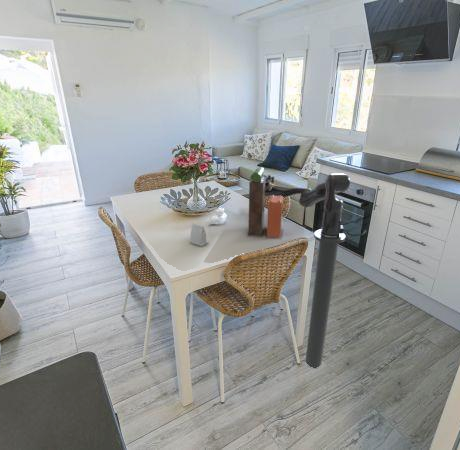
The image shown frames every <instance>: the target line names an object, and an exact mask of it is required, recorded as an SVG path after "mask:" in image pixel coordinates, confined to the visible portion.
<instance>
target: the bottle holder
mask: <svg viewBox="0 0 460 450" xmlns="http://www.w3.org/2000/svg"><path fill="white" fill-rule="evenodd" d="M267 202H268V203H267V221H266V223H267V224H266V237H267V238H276V239H277V238H278V239H280V238H281V231H282V218H283V204H284V197H283V196H281V195H280V196H274V195H272V196H269V199H268V201H267Z"/></svg>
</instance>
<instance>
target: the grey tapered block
mask: <svg viewBox="0 0 460 450" xmlns="http://www.w3.org/2000/svg"><path fill="white" fill-rule="evenodd" d="M190 241H191V244H193V245H196V246H199V247H203V246H205V245H206V244H207V232H206V229H205V227H204V226H202V225H200V224H199V225H198V224H196V223H192V226H191V230H190Z"/></svg>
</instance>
